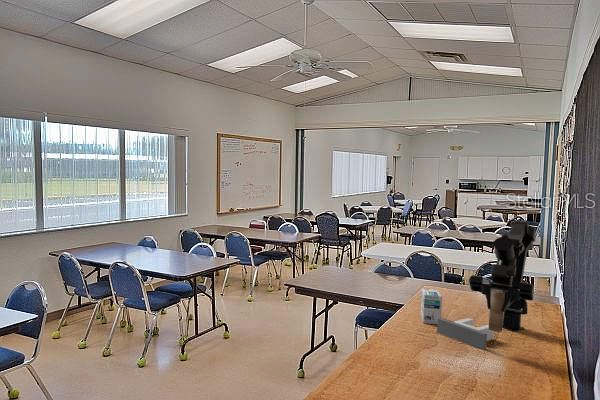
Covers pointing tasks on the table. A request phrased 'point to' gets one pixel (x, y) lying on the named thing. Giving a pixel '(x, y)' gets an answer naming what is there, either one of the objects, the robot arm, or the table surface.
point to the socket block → (485, 329)
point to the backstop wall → (462, 333)
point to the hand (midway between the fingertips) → (495, 309)
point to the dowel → (496, 310)
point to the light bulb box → (431, 306)
